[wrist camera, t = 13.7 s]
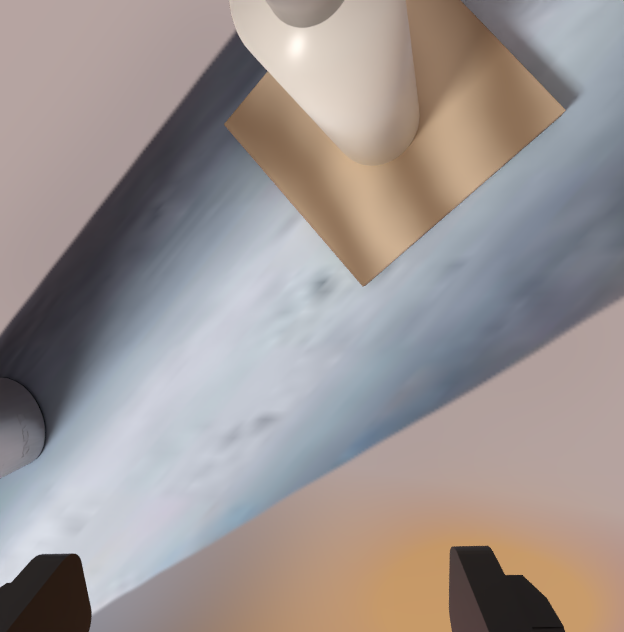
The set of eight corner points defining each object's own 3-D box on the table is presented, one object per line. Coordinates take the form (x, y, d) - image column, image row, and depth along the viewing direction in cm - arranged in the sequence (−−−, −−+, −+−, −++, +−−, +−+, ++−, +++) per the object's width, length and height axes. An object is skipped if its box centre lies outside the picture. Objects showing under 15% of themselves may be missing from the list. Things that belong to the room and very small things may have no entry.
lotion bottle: (333, 168, 27) (197, 55, 12) (333, 80, 26) (188, -165, 11) (417, 162, 25) (388, 23, 10) (421, 68, 24) (394, -236, 9)
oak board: (365, 285, 28) (362, 286, 27) (230, 128, 29) (224, 124, 29) (560, 116, 24) (565, 110, 23) (390, -63, 25) (388, -75, 24)
